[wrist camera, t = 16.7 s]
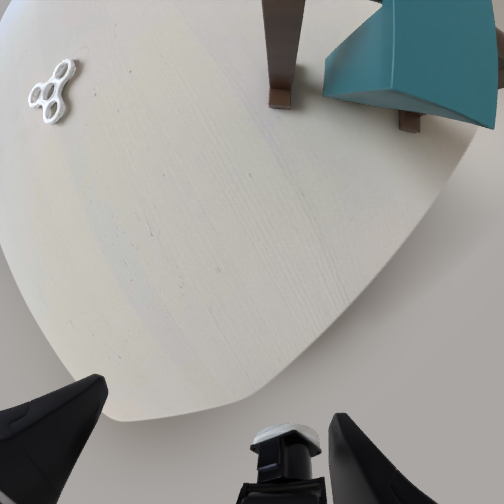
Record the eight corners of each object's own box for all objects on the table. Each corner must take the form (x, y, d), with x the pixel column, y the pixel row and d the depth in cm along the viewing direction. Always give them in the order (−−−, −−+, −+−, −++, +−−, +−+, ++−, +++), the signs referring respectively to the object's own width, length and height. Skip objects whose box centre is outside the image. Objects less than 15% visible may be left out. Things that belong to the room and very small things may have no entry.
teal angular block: (375, 107, 16) (494, 130, 5) (322, 96, 17) (391, 89, 5) (380, 27, 13) (485, -30, 2) (327, 15, 13) (382, -79, 2)
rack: (414, 133, 17) (545, 104, 4) (268, 107, 18) (253, -7, 5) (414, 88, 16) (525, 28, 3) (272, 61, 17) (263, -71, 4)
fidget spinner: (74, 54, 17) (70, 52, 16) (82, 102, 18) (77, 100, 17) (31, 93, 18) (26, 92, 17) (37, 140, 19) (31, 140, 19)
